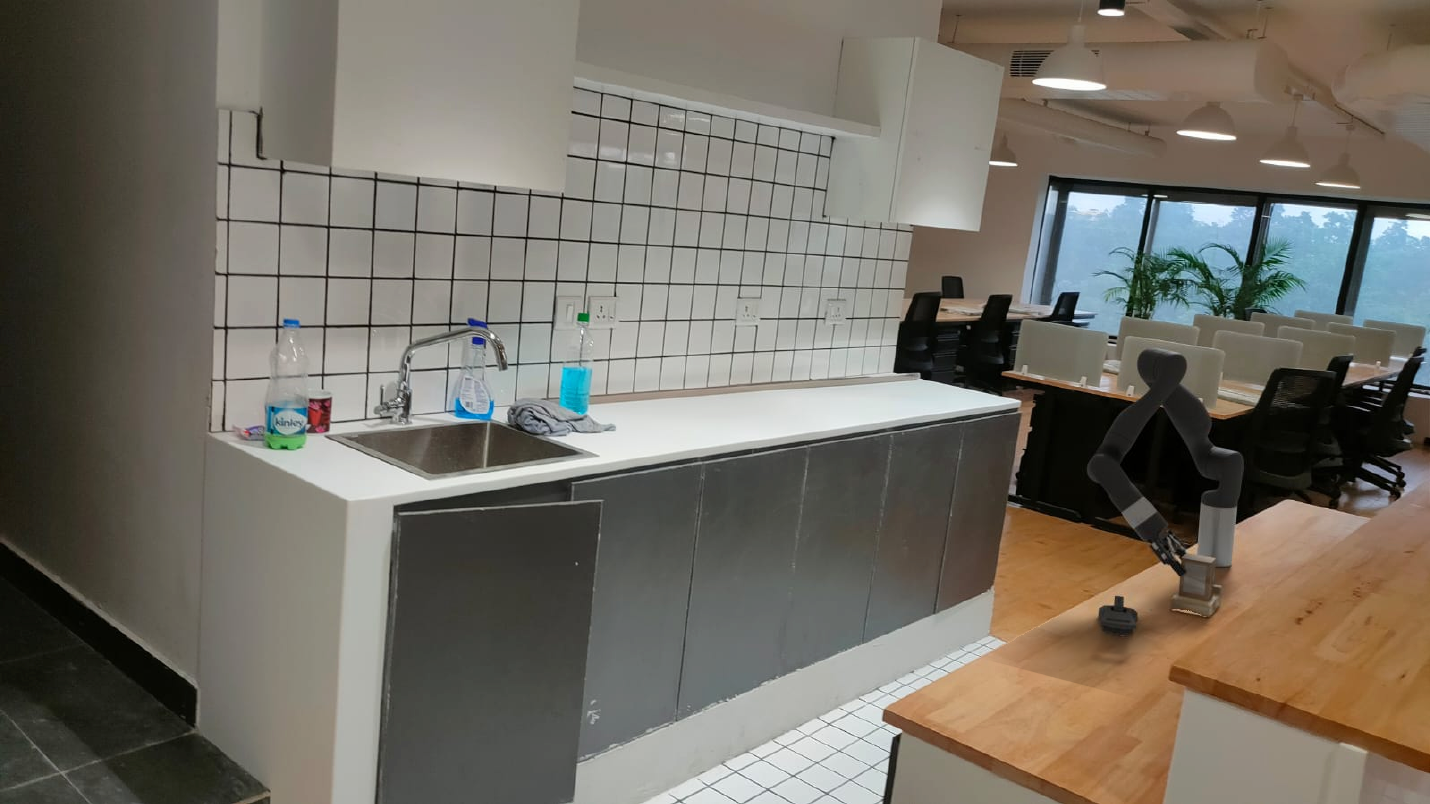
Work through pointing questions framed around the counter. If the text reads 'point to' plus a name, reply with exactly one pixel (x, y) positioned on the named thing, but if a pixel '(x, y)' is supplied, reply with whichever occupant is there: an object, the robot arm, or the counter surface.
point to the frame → (1197, 577)
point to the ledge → (1198, 603)
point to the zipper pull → (1118, 618)
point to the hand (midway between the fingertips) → (1187, 570)
